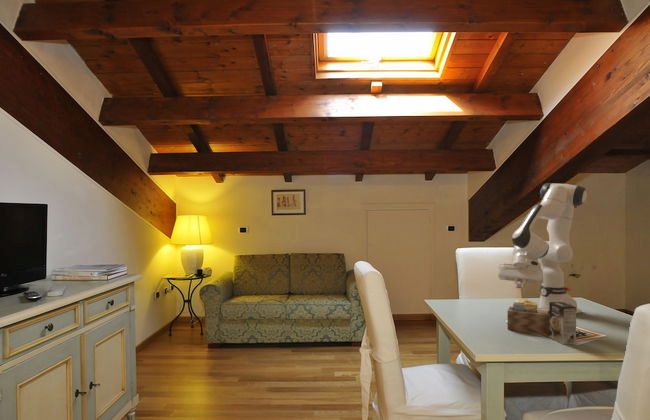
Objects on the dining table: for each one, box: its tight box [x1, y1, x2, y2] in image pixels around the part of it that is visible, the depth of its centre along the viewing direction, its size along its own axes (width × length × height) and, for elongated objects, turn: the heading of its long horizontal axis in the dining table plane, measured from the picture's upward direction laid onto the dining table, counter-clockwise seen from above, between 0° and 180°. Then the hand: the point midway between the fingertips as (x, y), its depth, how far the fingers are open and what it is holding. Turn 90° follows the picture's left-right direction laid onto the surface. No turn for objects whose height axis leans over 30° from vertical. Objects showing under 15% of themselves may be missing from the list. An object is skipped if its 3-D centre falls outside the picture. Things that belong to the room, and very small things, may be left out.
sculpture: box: [511, 298, 539, 309], centre depth 206 cm, size 11×12×11 cm
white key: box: [537, 306, 548, 314], centre depth 186 cm, size 4×4×4 cm
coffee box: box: [549, 302, 577, 345], centre depth 172 cm, size 9×6×16 cm
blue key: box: [512, 301, 524, 312], centre depth 191 cm, size 4×4×4 cm
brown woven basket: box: [507, 305, 550, 336], centre depth 188 cm, size 19×10×9 cm, turn 59°
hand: (519, 287), depth 193 cm, fingers closed
